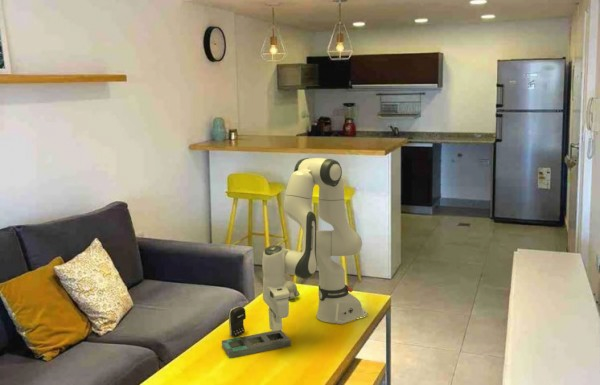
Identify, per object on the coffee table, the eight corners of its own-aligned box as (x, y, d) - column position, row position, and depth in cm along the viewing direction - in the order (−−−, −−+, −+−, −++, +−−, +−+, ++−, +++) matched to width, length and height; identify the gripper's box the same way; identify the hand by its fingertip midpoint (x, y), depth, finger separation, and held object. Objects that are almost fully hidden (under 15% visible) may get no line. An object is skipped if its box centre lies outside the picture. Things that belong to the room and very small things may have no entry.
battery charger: (235, 338, 245) (234, 311, 243) (229, 335, 247) (227, 309, 245) (247, 332, 250) (246, 306, 248) (241, 330, 252) (240, 304, 250)
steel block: (278, 326, 242) (277, 307, 240) (282, 329, 238) (281, 310, 237) (269, 327, 240) (268, 309, 239) (273, 331, 237) (271, 312, 235)
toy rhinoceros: (284, 299, 293) (279, 282, 294) (302, 295, 286) (297, 278, 286) (275, 303, 288) (269, 286, 289) (293, 299, 280) (287, 282, 281)
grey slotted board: (280, 335, 247) (280, 329, 246) (290, 346, 237) (290, 339, 236) (221, 346, 238) (221, 340, 237) (229, 358, 228) (229, 351, 227)
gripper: (258, 279, 244) (259, 311, 247) (275, 297, 225) (277, 331, 228) (272, 277, 246) (274, 308, 249) (291, 294, 228) (292, 328, 231)
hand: (275, 319), depth 239 cm, fingers closed on steel block, 4 cm apart
